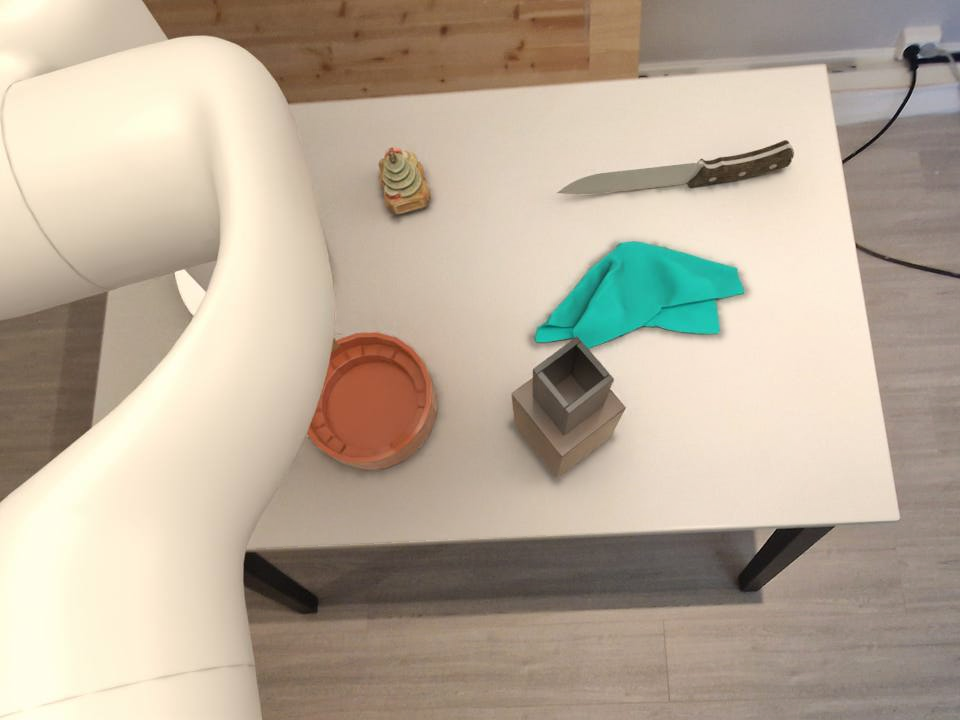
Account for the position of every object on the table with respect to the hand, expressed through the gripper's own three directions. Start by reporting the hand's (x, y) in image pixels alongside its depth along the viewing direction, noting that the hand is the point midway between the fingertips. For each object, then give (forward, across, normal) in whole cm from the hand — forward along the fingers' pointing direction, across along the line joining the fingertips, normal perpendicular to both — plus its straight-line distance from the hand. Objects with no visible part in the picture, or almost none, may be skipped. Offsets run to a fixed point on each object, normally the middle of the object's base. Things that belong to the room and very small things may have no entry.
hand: (280, 297), depth 53 cm
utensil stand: (+33, +16, +16) cm, 40 cm away
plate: (+34, -25, -2) cm, 42 cm away
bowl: (+33, 0, 0) cm, 33 cm away
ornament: (+34, -22, +20) cm, 45 cm away
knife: (+34, 0, +47) cm, 58 cm away
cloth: (+34, +8, +34) cm, 48 cm away
